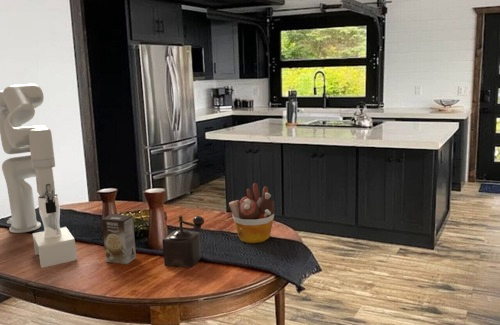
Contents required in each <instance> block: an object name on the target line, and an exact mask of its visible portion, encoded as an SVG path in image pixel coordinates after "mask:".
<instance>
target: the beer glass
mask: <svg viewBox="0 0 500 325" xmlns="http://www.w3.org/2000/svg"><path fill="white" fill-rule="evenodd" d="M58 196H59V195H58V194H57V193H55V194H54V200H55V205H56V212H54V213H49V214H47V213H46V205H45V203H46V200H45V195H44V196H43V197H41V196H40V195H38V197H37V198H38V200H37V201H38V204H37V205H38V211H39V215H40V219H41V221H42V225H43V231H44V237H45V238H56V237H59V236H61V235H62V232H61V229H60V228H61V225H60V216H61V208H60V200H59V197H58Z"/></svg>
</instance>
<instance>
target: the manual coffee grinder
mask: <svg viewBox="0 0 500 325" xmlns="http://www.w3.org/2000/svg"><path fill="white" fill-rule="evenodd" d="M178 222H179V229H178V230H176V229H175V230H174V231H172V232H170V233H169V234H168V235H167V236H165V237H164V238H163V239H162V242H161V243H162V250H163V264H164V266H165V267H173V268H193V267H194V266H195V265H196V264H197V263H198V262H199V261H200V260H201V258H202V257H203V255H202V254H203V252H202V239H201V238H202V237H201V232H200V231H201V230H202V226H203V225H204V224H205V218H204V217H202V216H201V215H196V216H195V217H193V219H192V222H193V223H191V222H188V221H184V219H183V215H179V216H178ZM183 224H184V225H186V226H191V227H193V230H194V231H192V230H191V231H189V230H188V229H187V230H186V229H184V228H183ZM201 256H202V257H201Z"/></svg>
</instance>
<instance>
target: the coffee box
mask: <svg viewBox="0 0 500 325" xmlns="http://www.w3.org/2000/svg"><path fill="white" fill-rule="evenodd" d="M101 225H102V232H103V233H102V234H103V235H102V236H103V243H104V253H105V262H106V263H112V264H113V263H114V264H121V265H123V264H124V265H128V264H129V263H131V262H132V261H134V260H135V259H136V258H137V254H136V252H137V251H136V242H135V230H134V229H135V228H134V217H133V215H131V214H120V213H119V214H118V213H110V214H109V215H107V216H105V217H103V218H102V219H101Z"/></svg>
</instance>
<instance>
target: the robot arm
mask: <svg viewBox="0 0 500 325" xmlns="http://www.w3.org/2000/svg"><path fill="white" fill-rule="evenodd" d="M43 102H44V92H43V90H42V88H41V87H40V86H39V85H38V84H35V83H27V84H13V85H8V86H6V87H5V88H4V89H3V90H0V141H1V146H2V149H3V152H4V153H5V154H7V155H17V154H25V153H26V154H27V153H30V155H23V156H16V157H10V158H7V159H5V160H4V161H3V162H2V164H1V170H2V174H3V176H4V180H5V183H6V188H7V194H8V200H9V207H10V214H11V217H9V218H8V220H6V224H10V227H9V228H8V229H9V232H10V233H13V234H14V233H15V234H22V233H28V232H33V231H36V230H38V229H40V228H41V227H42V223H41V222H40V221H38V220H37V214H36V206H35V200H34V192H33V187H32V185H31V184H29V182H27V181H25V179H29V178H35V182H36V192H37V193H38V196H41V197H43V196H44V195H45V200H46V203H45V205H46V213H47V214H49V213H54V212H56V205H55V200H54V194H56V190H55V189H56V188H55V180H54V179H55V178H54V172H53V168H55V167H56V161H55V160H56V159H55V153H54V144H53V137H52V136H53V135H52V131H51V129H50V128H49V127H48V126H47V125H44V124H38V125H28V126H22V125H24V124H26V123H28V122H30V121H31V120H32V119H34V117H35V114H36V108H38V107H40V106H41V105H42V104H43Z"/></svg>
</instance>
